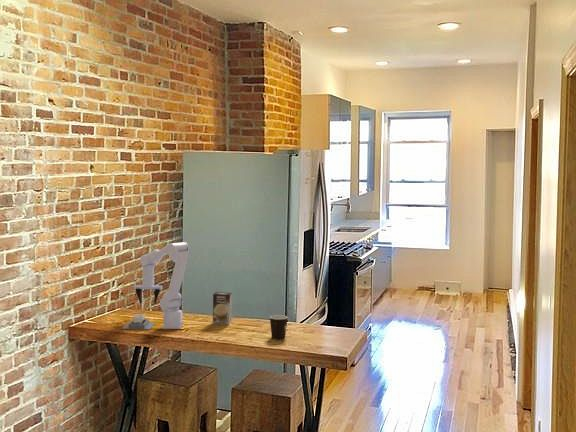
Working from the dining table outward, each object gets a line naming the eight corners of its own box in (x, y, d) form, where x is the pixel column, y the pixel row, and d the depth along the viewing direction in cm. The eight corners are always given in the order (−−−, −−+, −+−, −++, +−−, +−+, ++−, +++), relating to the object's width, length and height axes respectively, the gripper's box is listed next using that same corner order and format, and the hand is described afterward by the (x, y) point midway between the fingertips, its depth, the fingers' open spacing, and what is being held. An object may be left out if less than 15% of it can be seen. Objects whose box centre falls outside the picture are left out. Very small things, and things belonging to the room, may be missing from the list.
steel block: (141, 326, 329) (141, 317, 328) (132, 326, 329) (132, 316, 328) (144, 323, 336) (144, 314, 335) (136, 323, 336) (136, 313, 335)
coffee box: (211, 324, 339) (212, 293, 338) (214, 321, 345) (214, 291, 344) (229, 325, 338) (229, 294, 337) (231, 322, 344) (232, 292, 343)
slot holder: (155, 323, 338) (155, 318, 338) (149, 330, 325) (150, 325, 325) (128, 323, 338) (128, 318, 338) (121, 329, 325) (121, 324, 325)
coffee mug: (277, 334, 322) (277, 314, 321) (290, 337, 316) (291, 317, 316) (261, 338, 313) (261, 318, 312) (275, 342, 308) (275, 321, 307)
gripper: (163, 276, 346) (163, 301, 347) (136, 275, 346) (136, 301, 347) (160, 278, 339) (160, 304, 340) (132, 278, 339) (132, 304, 340)
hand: (148, 303), depth 343 cm, fingers open, 7 cm apart
